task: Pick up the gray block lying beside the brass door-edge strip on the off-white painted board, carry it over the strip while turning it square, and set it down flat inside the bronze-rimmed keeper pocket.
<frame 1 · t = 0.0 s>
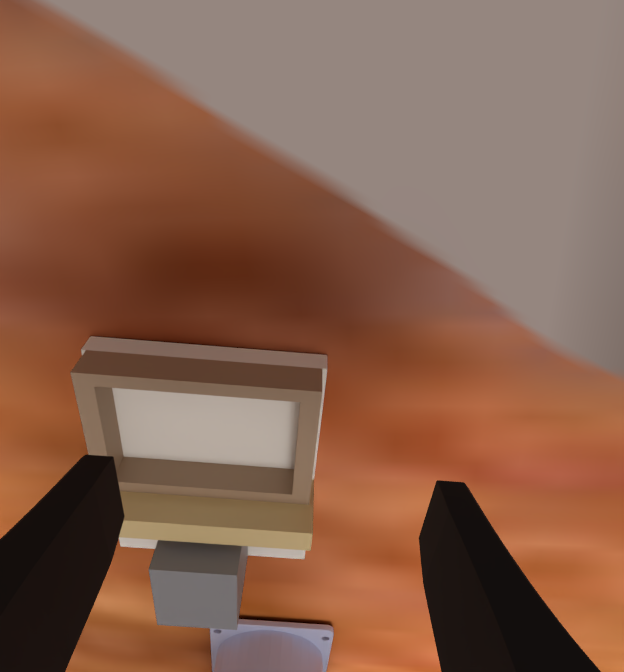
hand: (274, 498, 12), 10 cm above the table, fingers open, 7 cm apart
gray block: (211, 526, 27), point 1 cm above the table, touching door board
door board: (213, 454, 25), on the table
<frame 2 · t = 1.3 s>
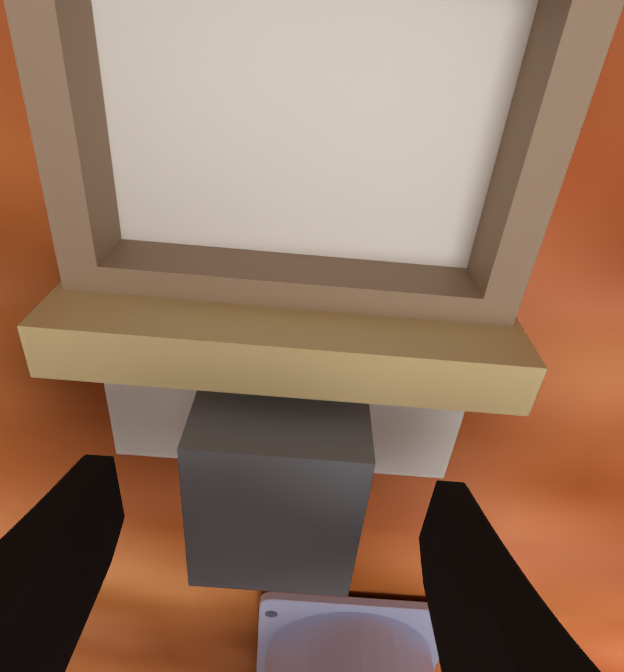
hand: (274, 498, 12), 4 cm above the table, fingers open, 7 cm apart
gray block: (285, 408, 14), point 1 cm above the table, touching door board
door board: (296, 256, 13), on the table
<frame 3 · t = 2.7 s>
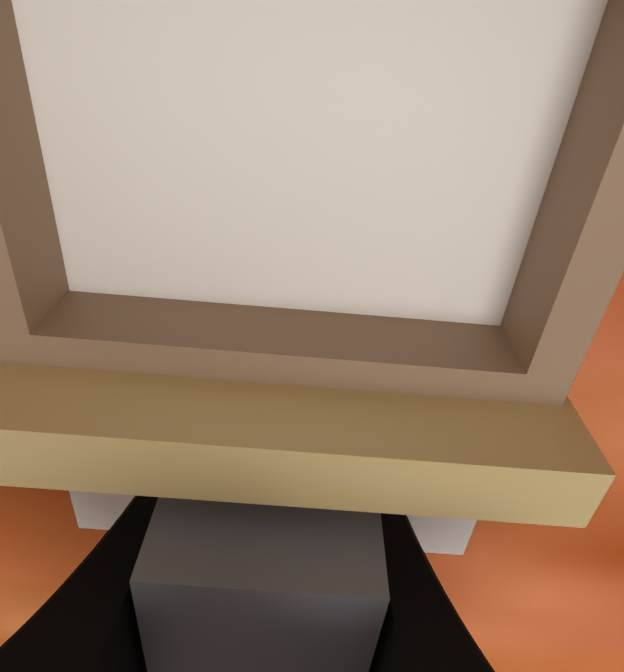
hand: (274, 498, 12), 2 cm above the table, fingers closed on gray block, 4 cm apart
gray block: (276, 481, 12), point 1 cm above the table, touching door board, gripper
door board: (288, 305, 11), on the table
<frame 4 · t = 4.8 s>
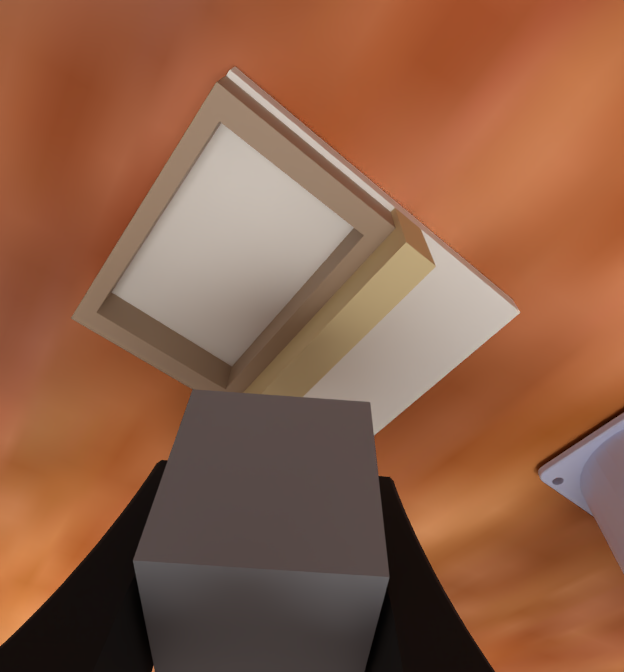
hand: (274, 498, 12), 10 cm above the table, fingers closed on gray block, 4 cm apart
gray block: (278, 468, 12), point 9 cm above the table, touching gripper
door board: (302, 294, 20), on the table
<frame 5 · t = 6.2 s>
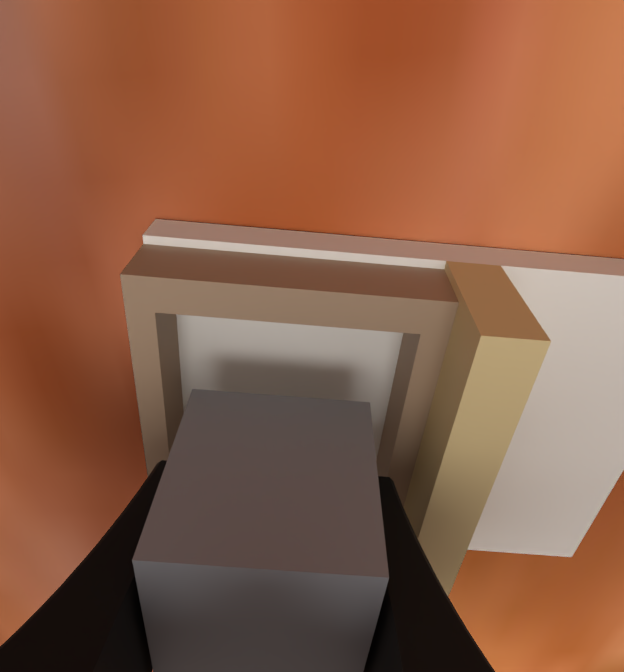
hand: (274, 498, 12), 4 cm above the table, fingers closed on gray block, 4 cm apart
gray block: (277, 468, 12), point 3 cm above the table, touching gripper
door board: (397, 405, 15), on the table
when the fingers open (3 cm above the table, at t = 7.2 s): gray block drops 1 cm, resting on door board.
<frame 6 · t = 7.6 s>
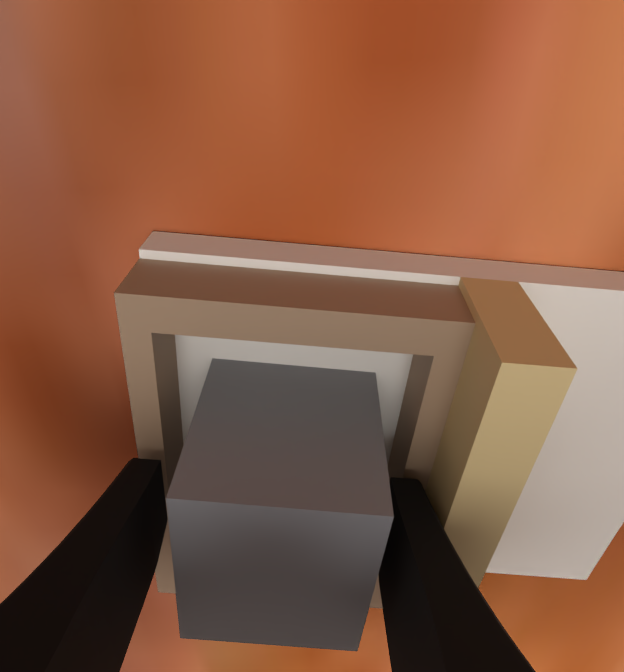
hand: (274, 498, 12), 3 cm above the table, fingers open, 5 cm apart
gray block: (288, 436, 13), point 1 cm above the table, touching door board
door board: (405, 423, 14), on the table
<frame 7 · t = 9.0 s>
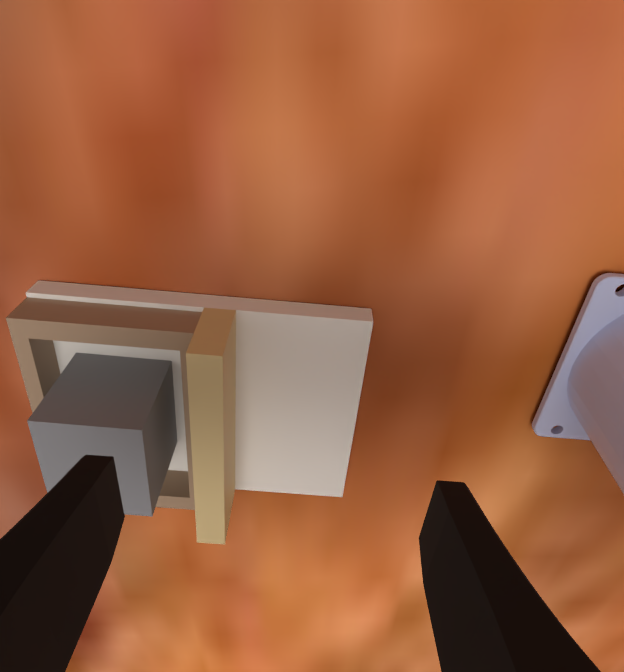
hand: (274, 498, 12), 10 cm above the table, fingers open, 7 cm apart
gray block: (129, 399, 22), point 1 cm above the table, touching door board
door board: (209, 393, 23), on the table
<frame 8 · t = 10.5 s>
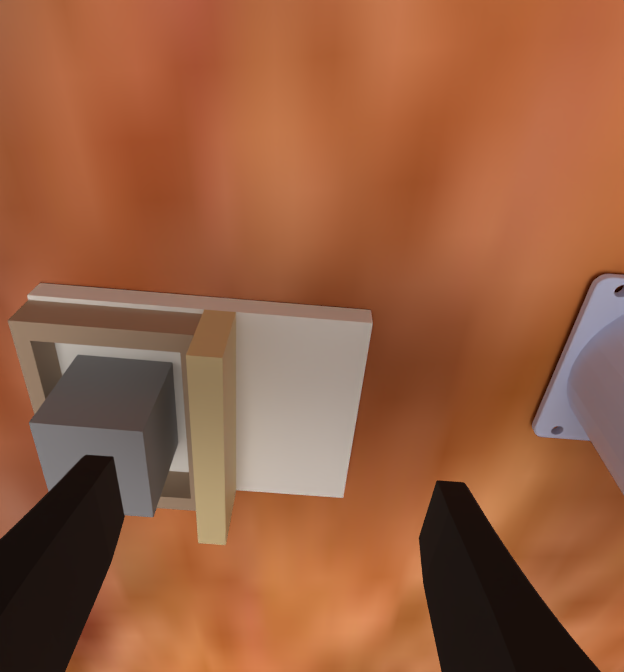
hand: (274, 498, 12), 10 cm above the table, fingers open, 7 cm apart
gray block: (130, 401, 22), point 1 cm above the table, touching door board
door board: (210, 394, 23), on the table
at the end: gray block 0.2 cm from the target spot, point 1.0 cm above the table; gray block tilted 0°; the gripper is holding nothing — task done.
